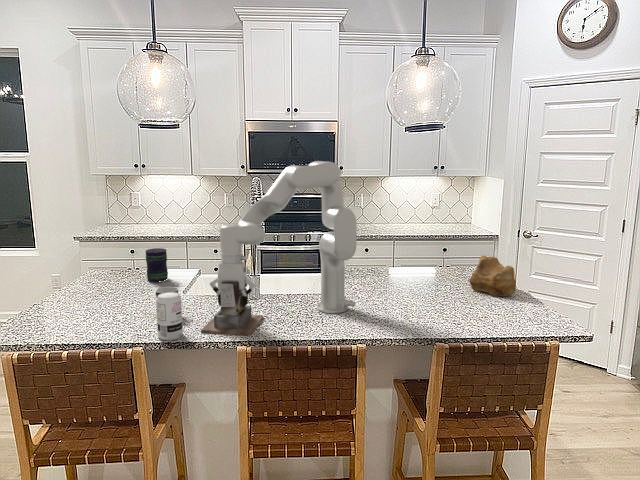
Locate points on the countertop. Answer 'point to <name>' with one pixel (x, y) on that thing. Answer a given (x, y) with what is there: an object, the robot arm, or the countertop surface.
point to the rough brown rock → (493, 277)
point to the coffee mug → (166, 290)
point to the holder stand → (233, 323)
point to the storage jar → (156, 264)
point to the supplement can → (169, 316)
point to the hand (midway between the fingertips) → (233, 305)
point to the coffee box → (231, 299)
